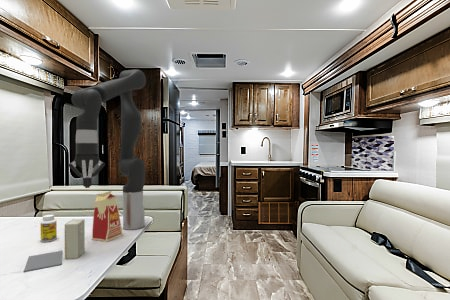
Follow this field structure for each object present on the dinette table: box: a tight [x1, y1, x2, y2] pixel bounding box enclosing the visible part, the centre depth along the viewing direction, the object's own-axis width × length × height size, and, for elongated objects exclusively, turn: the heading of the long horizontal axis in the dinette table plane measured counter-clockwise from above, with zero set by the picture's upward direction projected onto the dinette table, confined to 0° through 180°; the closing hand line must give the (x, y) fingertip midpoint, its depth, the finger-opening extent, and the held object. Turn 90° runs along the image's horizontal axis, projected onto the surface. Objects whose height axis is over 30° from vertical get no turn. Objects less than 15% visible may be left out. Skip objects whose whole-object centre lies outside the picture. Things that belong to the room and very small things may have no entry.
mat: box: [23, 250, 63, 273], centre depth 91 cm, size 10×13×1 cm
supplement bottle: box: [40, 214, 58, 243], centre depth 111 cm, size 6×6×10 cm
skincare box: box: [64, 218, 86, 260], centre depth 95 cm, size 6×4×12 cm
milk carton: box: [91, 190, 124, 243], centre depth 114 cm, size 9×9×20 cm
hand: (87, 187), depth 102 cm, fingers closed
